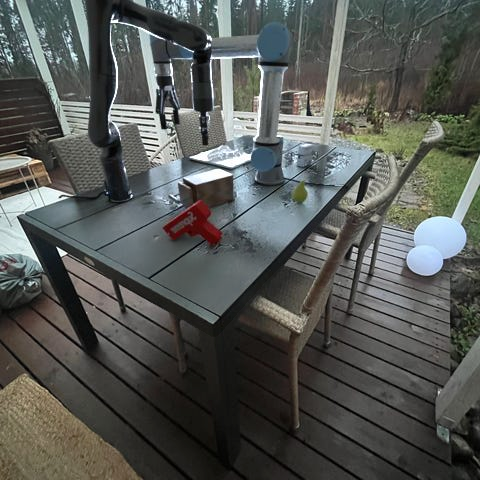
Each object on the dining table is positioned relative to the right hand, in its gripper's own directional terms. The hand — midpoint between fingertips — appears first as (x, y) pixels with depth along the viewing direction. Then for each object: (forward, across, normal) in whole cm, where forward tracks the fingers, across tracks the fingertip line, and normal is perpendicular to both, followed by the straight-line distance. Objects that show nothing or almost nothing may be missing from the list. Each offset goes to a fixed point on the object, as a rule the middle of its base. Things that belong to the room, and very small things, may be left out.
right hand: (171, 126), depth 131 cm
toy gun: (+27, +54, +31) cm, 68 cm away
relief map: (+27, -44, +12) cm, 53 cm away
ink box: (+27, -42, +64) cm, 81 cm away
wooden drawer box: (+27, +21, +26) cm, 43 cm away
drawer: (+26, +26, +22) cm, 43 cm away
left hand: (+1, +23, +26) cm, 35 cm away
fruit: (+27, +13, +65) cm, 72 cm away
